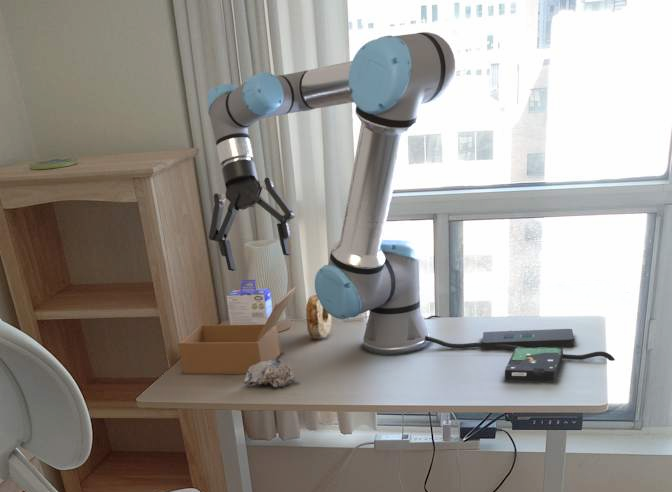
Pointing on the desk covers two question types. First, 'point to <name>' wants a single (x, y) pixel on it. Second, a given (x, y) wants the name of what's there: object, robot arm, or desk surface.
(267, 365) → the mineral specimen
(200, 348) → the carton
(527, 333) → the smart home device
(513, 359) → the disk drive
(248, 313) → the ink cartridge box
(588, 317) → the desk surface
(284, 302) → the flap
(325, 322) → the stone disc
